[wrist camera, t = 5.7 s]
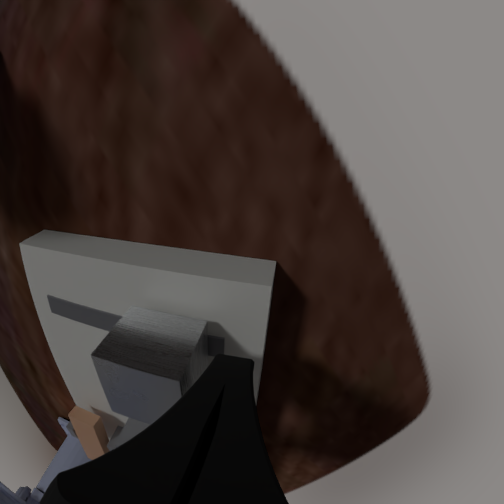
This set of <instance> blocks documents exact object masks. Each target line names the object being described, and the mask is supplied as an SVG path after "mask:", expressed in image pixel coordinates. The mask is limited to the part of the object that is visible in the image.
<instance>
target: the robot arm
mask: <svg viewBox="0 0 504 504" xmlns="http://www.w3.org/2000/svg"><path fill="white" fill-rule="evenodd" d="M254 363H255V362H254V361H253V360H252V359H248V358H242V357H236V356H230V355H224V354H217V355H216V356H215V357H214V359H213V360H212V362H211V363H210V365H209V366H208V367H207V369H206V370H205V371H204V372H203V374H202V375H201V376H200V377H199V378H198V380H197V381H196V382H195V383H194V384H193V385H192V386H191V387H190V389H189V390H188V391H187V392H186V393H185V394H184V395H183V396H182V397H181V398H180V399H179V400H178V401H177V402H176V403H175V404H174V405H173V406H172V407H171V408H170V409H169V410H168V411H166V412H165V413H164V414H163V415H162V416H161V417H160V418H158V419H157V420H156V421H155V422H154V423H152V424H151V425H150V426H148V427H147V428H146V429H144V430H143V431H142V432H140V433H139V434H137V435H136V436H134V437H133V438H131V439H130V440H128V441H127V442H125V443H124V444H122V445H120V446H119V447H117V448H115V449H113V450H111V451H109V452H107V453H105V454H103V455H102V456H100V457H98V458H96V459H94V460H91V459H89V458H88V457H87V455H86V453H85V451H84V449H83V447H82V445H81V443H80V441H79V439H77V438H75V437H73V436H72V435H71V434H70V432H69V431H68V429H67V428H66V426H67V424H68V423H69V421H67V420H65V419H63V418H61V417H59V418H58V422H59V423H60V425H61V426H62V428H63V429H64V431H65V432H66V433H67V435H68V436H67V438H66V439H65V441H64V442H63V444H62V446H61V447H60V449H59V450H58V452H57V454H56V455H55V457H54V459H53V460H52V462H51V463H50V465H49V466H48V468H47V470H46V471H45V473H44V475H43V476H42V478H41V480H40V482H39V483H38V485H37V487H36V488H37V489H36V488H34V490H33V491H32V493H30V492H31V489H30V488H29V487H20V488H19V489H18V491H17V492H16V493H13V492H12V491H11V490H10V489H9V488H7V487H6V486H5V485H4V484H2V483H1V482H0V504H288V502H287V500H286V497H285V495H284V493H283V491H282V489H281V487H280V484H279V482H278V480H277V478H276V475H275V473H274V470H273V467H272V465H271V462H270V459H269V456H268V453H267V450H266V447H265V444H264V440H263V437H262V433H261V429H260V425H259V420H258V415H257V409H256V403H255V397H254V386H253V371H254Z"/></svg>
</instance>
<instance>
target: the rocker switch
mask: <svg viewBox="0 0 504 504" xmlns="http://www.w3.org/2000/svg"><path fill="white" fill-rule="evenodd" d="M68 416H69V418H70V421H71V423H72V425H73V428H74V430H75V432H76V434H77V436H78V439H79V441H80V443H81V445H82V447H83V449H84V451H85V453H86V455H87V457H88V458H89V459H91V460H94V459H96V458H98V457H100V456H102V455H103V454H105V453H107V452H109V449H108V448H107V444H108V442H109V439H108V436H107V433H106V430H105V428H104V425H103V422H102V419H101V416H98V415H96V414H94V413H91V412H89V411H87V410H85V409H82V408H80V407H78V406H75V407H74V408H73V409H72V411H71V412H70V413H69V414H68Z"/></svg>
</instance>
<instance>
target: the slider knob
mask: <svg viewBox="0 0 504 504" xmlns="http://www.w3.org/2000/svg"><path fill="white" fill-rule="evenodd" d="M91 358H92V361H93V363H94V366H95V369H96V372H97V375H98V377H99V380H100V383H101V385H102V388H103V390H104V393H105V395H106V398H107V400H108V403H109V405H110V407H111V410H112V411H113V412H115V413H118V414H121V415H124V416H126V417H129V418H132V419H135V420H138V421H141V422H144V423H147V424H150V425H151V424H152V423H154V422H155V421H156V420H157V419H158V418H160V417H161V416H162V415H163V414H164V413H165V412H166V411H168V410H169V409H170V408H171V407H172V406H173V405H174V404H175V403H176V402H177V401H178V400H179V399H180V398H181V397H182V396H183V395H184V394H185V393H186V392H187V391H188V390H189V389H190V387H191V386H192V385H193V384H194V383H195V382H196V381H197V380H198V378H199V377H200V376H201V375H202V374H203V372H204V371H205V370H206V369H207V367H208V325H207V320H202V319H196V318H191V317H186V316H181V315H175V314H171V313H166V312H161V311H156V310H151V309H147V308H142V307H138V306H133V305H132V306H131V307H130V308H129V309H128V311H127V312H126V313H125V314H124V315H123V316H122V318H121V319H120V320H119V321H118V322H117V324H116V325H115V326H114V327H113V328H112V329H111V331H110V332H109V333H108V334H107V335H106V337H105V338H104V339H103V340H102V341H101V343H100V344H99V345H98V346H97V348H96V349H95V350H94V351H93V352H92V354H91Z"/></svg>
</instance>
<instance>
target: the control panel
mask: <svg viewBox="0 0 504 504" xmlns="http://www.w3.org/2000/svg"><path fill="white" fill-rule="evenodd" d="M19 244H20V249H21V254H22V259H23V263H24V267H25V271H26V275H27V279H28V283H29V287H30V290H31V294H32V297H33V300H34V304H35V307H36V310H37V313H38V316H39V319H40V322H41V325H42V328H43V331H44V333H45V336H46V339H47V341H48V344H49V346H50V349H51V351H52V354H53V356H54V359H55V361H56V363H57V366H58V368H59V370H60V373H61V375H62V377H63V379H64V381H65V383H66V385H67V387H68V390H69V392H70V394H71V396H72V398H73V400H74V401H75V403H76V405H77V406H78V407H80V408H82V409H85V410H87V411H89V412H91V413H94V414H96V415H98V416H101V419H102V422H103V425H104V428H105V430H106V433H107V436H108V439H109V442H108V444H107V448H108V449H109V451H111V450H113V449H115V448H117V447H119V446H120V445H122V444H124V443H125V442H127V441H128V440H130V439H131V438H133V437H134V436H136V435H137V434H139V433H140V432H142V431H143V430H144V429H146V428H147V427H148V426H150V424H147V423H144V422H141V421H138V420H135V419H132V418H129V417H126V416H124V415H121V414H118V413H115V412H113V411H112V410H111V407H110V405H109V403H108V400H107V398H106V395H105V393H104V390H103V388H102V385H101V383H100V380H99V377H98V375H97V372H96V369H95V366H94V363H93V361H92V358H91V354H92V352H93V351H94V350H95V349H96V348H97V346H98V345H99V344H100V343H101V341H102V340H103V339H104V338H105V337H106V335H107V334H108V333H109V332H110V331H111V329H112V328H113V327H114V326H115V325H116V324H117V322H118V321H119V320H120V319H121V318H122V316H123V315H124V314H125V313H126V312H127V311H128V309H129V308H130V307H131V306H132V305H133V306H138V307H142V308H147V309H151V310H156V311H161V312H166V313H171V314H175V315H181V316H186V317H191V318H196V319H202V320H207V325H208V366H209V365H210V363H211V362H212V360H213V359H214V357H215V356H216V355H217V354H224V355H230V356H236V357H242V358H248V359H252V360H253V361H254V362H255V363H254V371H253V386H254V397H255V403H256V405H257V398H258V392H259V385H260V378H261V372H262V365H263V358H264V351H265V344H266V337H267V329H268V322H269V315H270V307H271V299H272V292H273V284H274V276H275V268H276V261H271V260H263V259H256V258H248V257H240V256H233V255H225V254H218V253H210V252H203V251H195V250H188V249H181V248H173V247H166V246H158V245H151V244H144V243H137V242H129V241H122V240H115V239H108V238H101V237H93V236H86V235H79V234H72V233H65V232H58V231H51V230H43V231H41V232H39V233H37V234H36V235H34V236H32V237H30V238H28V239H26V240H25V241H23V242H21V243H19ZM66 428H67V429H68V431H69V432H70V434H71V435H72V436H73V437H75V438H77V439H78V436H77V434H76V432H75V430H74V428H73V425H72V423H71V421H69V423H68V424H67V426H66Z"/></svg>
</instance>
